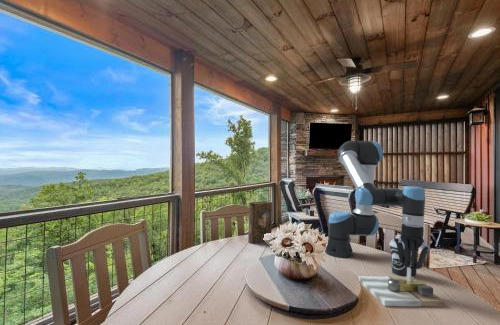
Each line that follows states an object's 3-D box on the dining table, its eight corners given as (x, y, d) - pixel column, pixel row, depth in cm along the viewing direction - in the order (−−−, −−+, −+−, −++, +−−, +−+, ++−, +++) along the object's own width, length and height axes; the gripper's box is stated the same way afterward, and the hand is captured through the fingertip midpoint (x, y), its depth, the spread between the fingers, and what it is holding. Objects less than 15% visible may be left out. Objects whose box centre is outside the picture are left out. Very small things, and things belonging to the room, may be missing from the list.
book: (252, 244, 160) (253, 204, 160) (246, 242, 164) (248, 202, 164) (271, 239, 171) (272, 202, 171) (265, 237, 175) (266, 201, 175)
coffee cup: (415, 278, 116) (416, 245, 117) (392, 276, 118) (393, 243, 119) (407, 270, 126) (407, 239, 126) (385, 268, 128) (386, 237, 128)
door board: (358, 280, 113) (358, 269, 113) (407, 281, 114) (407, 269, 114) (384, 306, 93) (384, 292, 93) (443, 306, 94) (443, 292, 94)
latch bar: (420, 286, 104) (420, 278, 104) (427, 291, 100) (428, 283, 100) (385, 287, 102) (386, 278, 102) (392, 291, 98) (392, 283, 98)
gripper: (391, 222, 107) (388, 278, 107) (425, 229, 96) (423, 292, 96) (400, 220, 111) (398, 275, 111) (435, 227, 100) (432, 288, 100)
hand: (410, 283), depth 104 cm, fingers closed
